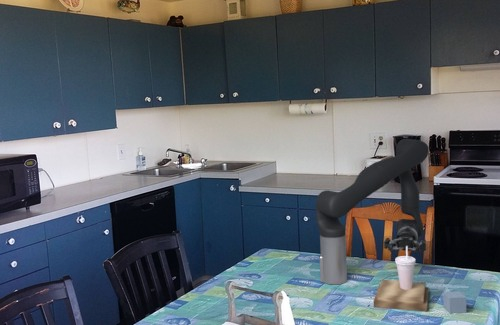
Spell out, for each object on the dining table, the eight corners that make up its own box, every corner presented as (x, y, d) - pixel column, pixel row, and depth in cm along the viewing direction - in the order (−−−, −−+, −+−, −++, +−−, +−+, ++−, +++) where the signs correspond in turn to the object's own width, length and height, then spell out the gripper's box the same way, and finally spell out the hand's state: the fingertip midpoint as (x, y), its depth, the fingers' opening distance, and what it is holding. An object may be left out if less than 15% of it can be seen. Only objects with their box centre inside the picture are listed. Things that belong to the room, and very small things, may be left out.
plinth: (373, 307, 166) (373, 294, 165) (379, 289, 181) (379, 278, 180) (426, 311, 160) (426, 298, 160) (428, 293, 175) (428, 281, 175)
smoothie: (417, 291, 166) (416, 249, 164) (396, 291, 168) (395, 249, 165) (415, 283, 172) (414, 243, 170) (395, 283, 174) (394, 243, 172)
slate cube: (449, 314, 158) (449, 298, 157) (443, 307, 163) (443, 292, 162) (466, 313, 158) (466, 297, 157) (459, 306, 163) (459, 291, 162)
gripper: (387, 227, 197) (382, 238, 182) (427, 229, 192) (425, 240, 177) (387, 246, 198) (382, 259, 183) (427, 248, 193) (425, 261, 178)
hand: (403, 249), depth 180 cm, fingers open, 8 cm apart
